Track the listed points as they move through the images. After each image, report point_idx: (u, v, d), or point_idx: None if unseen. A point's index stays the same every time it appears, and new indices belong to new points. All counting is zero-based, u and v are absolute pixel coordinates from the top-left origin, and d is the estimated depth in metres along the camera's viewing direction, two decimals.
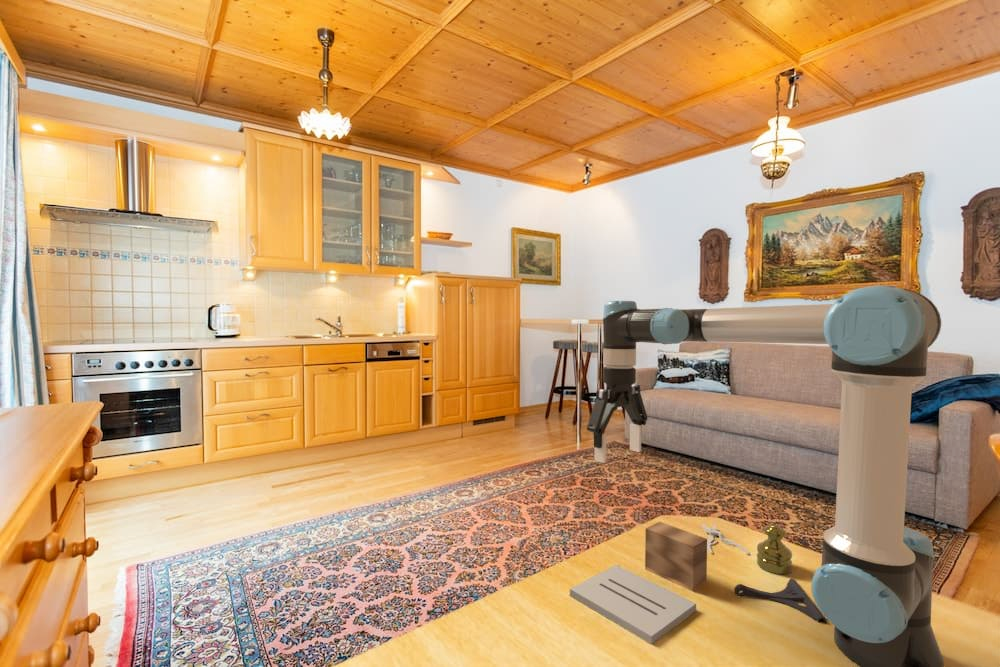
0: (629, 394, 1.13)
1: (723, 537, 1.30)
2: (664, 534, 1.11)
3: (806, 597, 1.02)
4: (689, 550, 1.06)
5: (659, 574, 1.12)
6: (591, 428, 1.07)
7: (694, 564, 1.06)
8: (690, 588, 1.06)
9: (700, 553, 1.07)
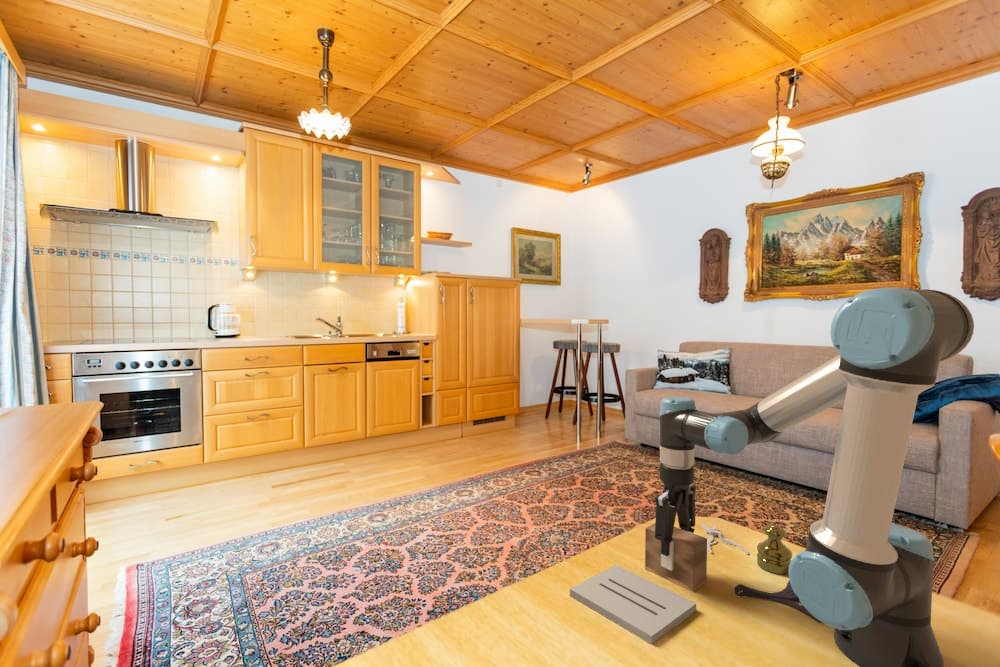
0: (687, 493, 1.11)
1: (723, 537, 1.30)
2: None
3: None
4: (689, 550, 1.06)
5: (659, 574, 1.12)
6: (659, 538, 1.07)
7: (694, 564, 1.06)
8: (690, 588, 1.06)
9: (700, 552, 1.07)
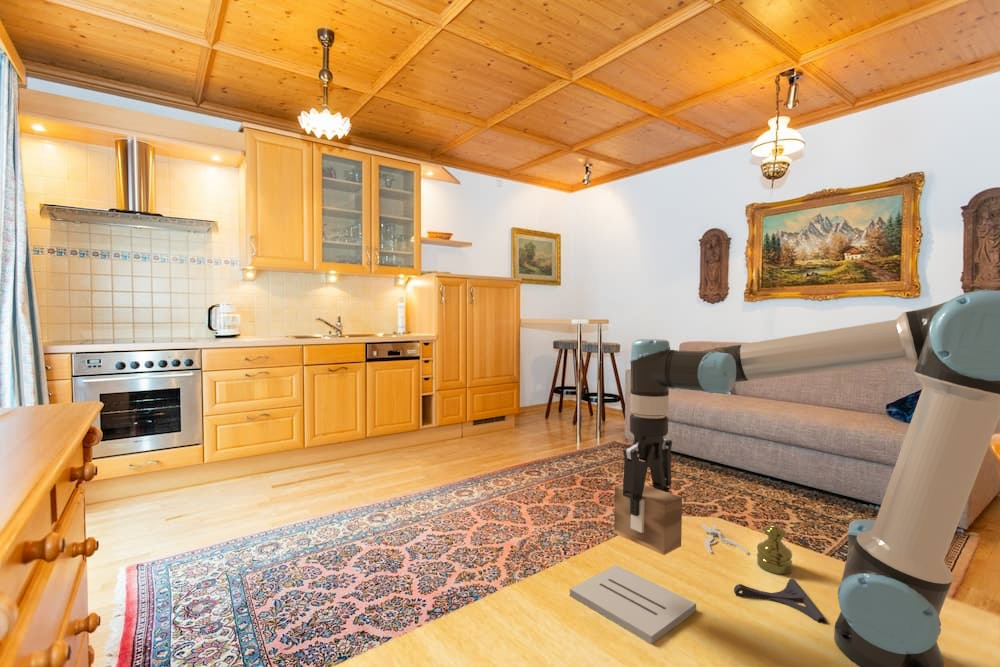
0: (660, 447, 0.98)
1: (723, 537, 1.31)
2: None
3: (806, 597, 1.02)
4: (660, 508, 0.94)
5: (628, 537, 1.00)
6: (627, 495, 0.95)
7: (666, 524, 0.93)
8: (661, 551, 0.94)
9: (673, 512, 0.95)
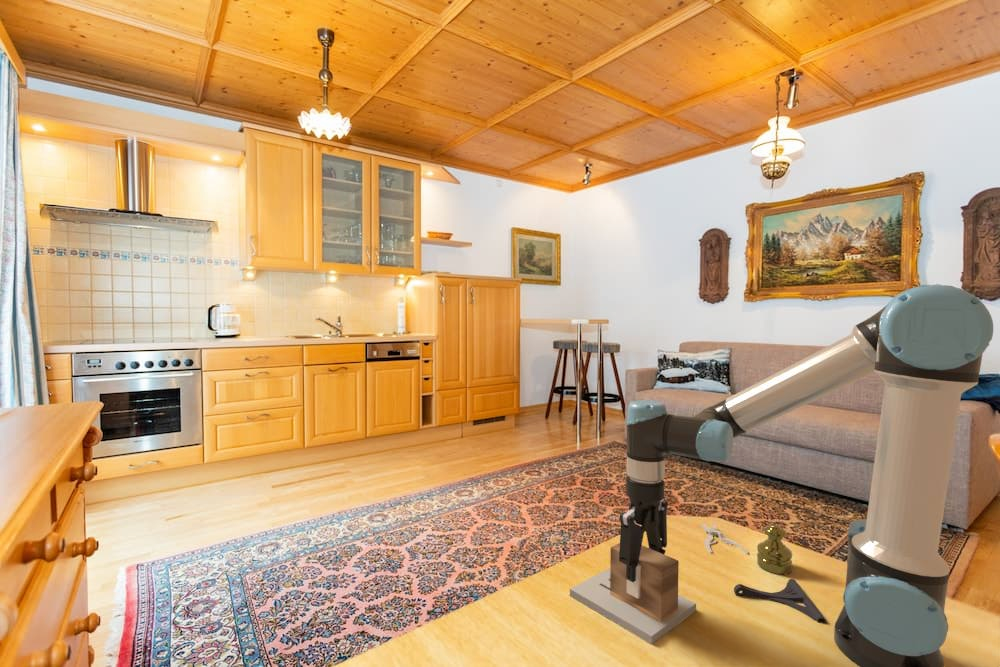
0: (656, 510, 0.98)
1: (723, 536, 1.31)
2: None
3: (806, 597, 1.02)
4: (657, 574, 0.93)
5: (625, 600, 0.99)
6: (624, 562, 0.94)
7: (663, 591, 0.93)
8: (658, 617, 0.93)
9: (669, 577, 0.94)
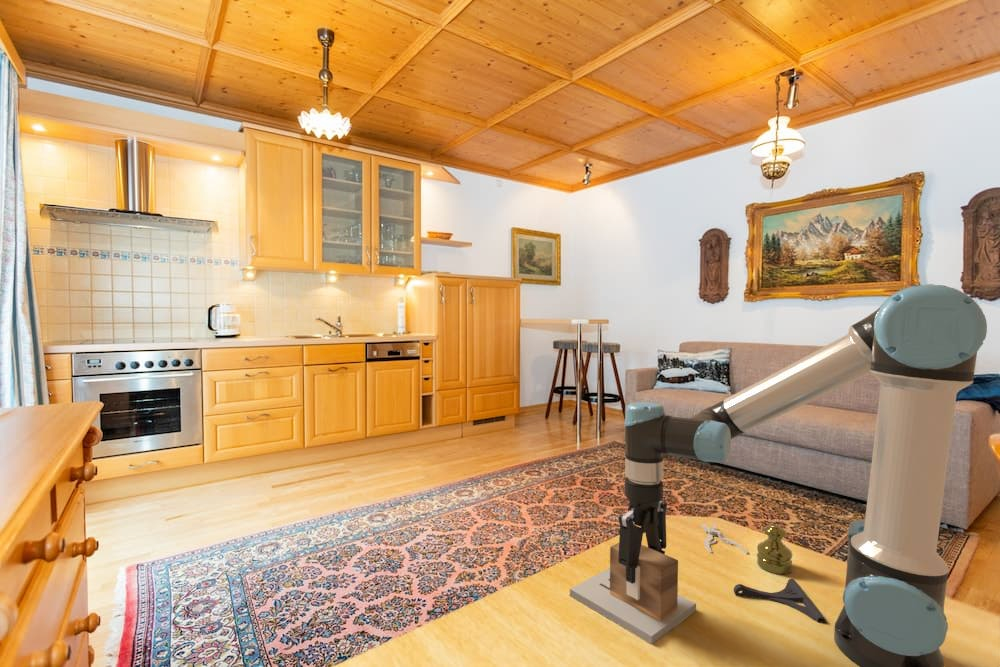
0: (655, 511, 0.98)
1: (722, 536, 1.31)
2: None
3: (805, 597, 1.02)
4: (656, 574, 0.93)
5: (624, 599, 0.99)
6: (623, 563, 0.94)
7: (662, 590, 0.93)
8: (657, 617, 0.93)
9: (669, 576, 0.94)
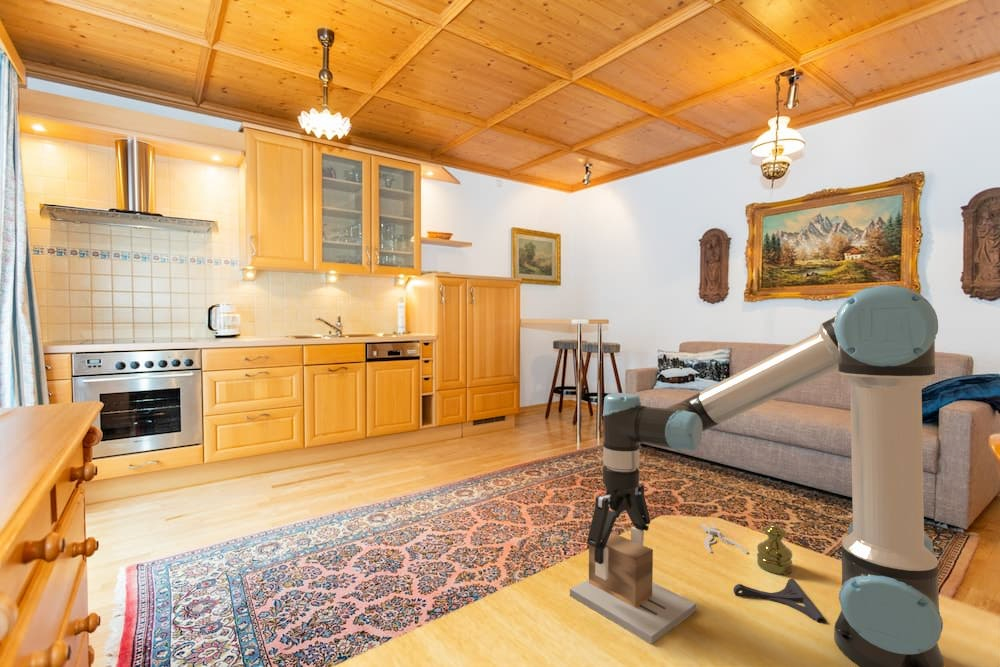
0: (632, 498, 1.02)
1: (722, 536, 1.31)
2: (607, 544, 1.03)
3: (805, 597, 1.02)
4: (632, 562, 0.97)
5: (602, 587, 1.03)
6: (591, 543, 0.97)
7: (637, 578, 0.97)
8: (633, 603, 0.97)
9: (644, 565, 0.99)
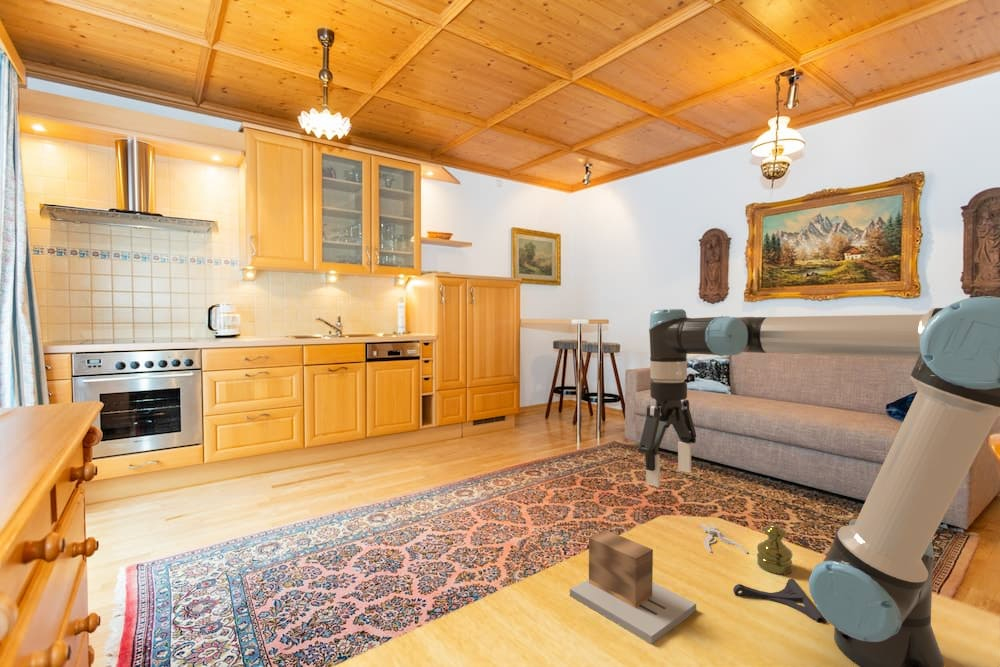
0: (680, 410, 1.04)
1: (722, 536, 1.31)
2: (607, 544, 1.03)
3: (805, 597, 1.02)
4: (632, 562, 0.97)
5: (602, 587, 1.03)
6: (644, 449, 0.98)
7: (637, 578, 0.97)
8: (633, 603, 0.97)
9: (644, 565, 0.99)
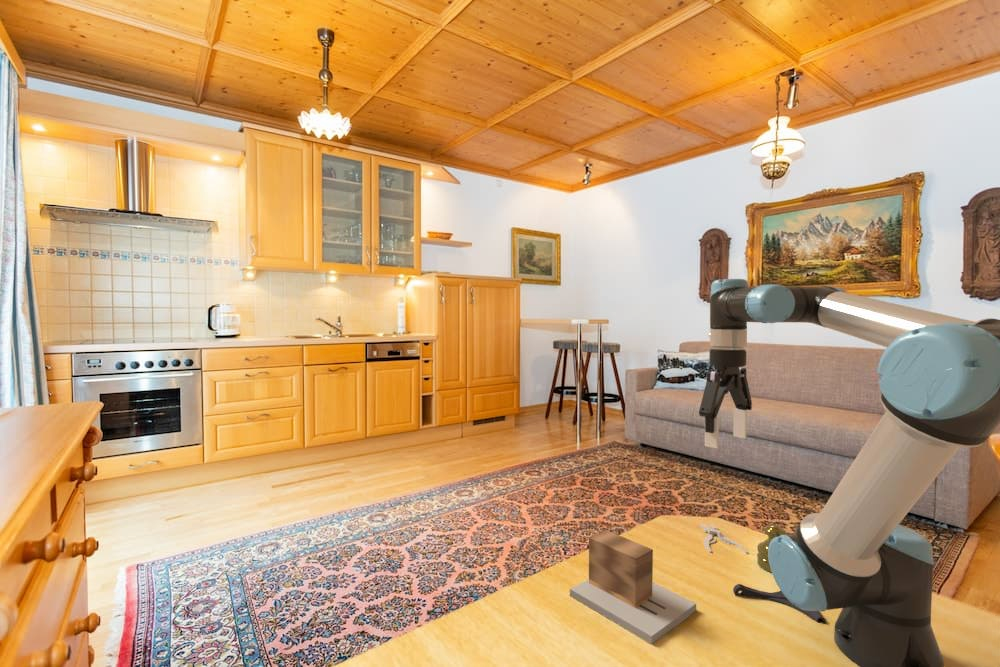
0: (738, 377, 1.08)
1: (722, 536, 1.31)
2: (607, 544, 1.03)
3: None
4: (632, 562, 0.97)
5: (602, 587, 1.03)
6: (704, 412, 1.03)
7: (637, 578, 0.97)
8: (633, 603, 0.97)
9: (644, 565, 0.99)
